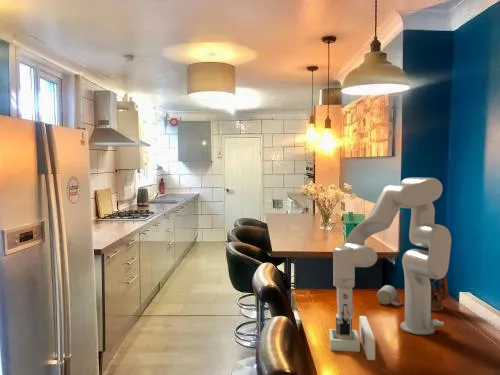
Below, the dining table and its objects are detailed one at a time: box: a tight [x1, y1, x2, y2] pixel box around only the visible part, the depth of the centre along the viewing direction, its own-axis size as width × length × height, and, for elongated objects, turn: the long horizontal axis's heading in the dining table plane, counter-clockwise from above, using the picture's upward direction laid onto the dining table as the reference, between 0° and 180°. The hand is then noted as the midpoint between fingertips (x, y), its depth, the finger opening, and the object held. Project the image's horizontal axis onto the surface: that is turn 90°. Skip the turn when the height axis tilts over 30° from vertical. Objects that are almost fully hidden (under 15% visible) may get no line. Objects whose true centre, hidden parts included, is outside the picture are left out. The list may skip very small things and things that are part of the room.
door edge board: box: [358, 315, 376, 361], centre depth 148 cm, size 3×22×7 cm, turn 172°
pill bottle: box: [335, 307, 353, 338], centre depth 149 cm, size 6×6×10 cm
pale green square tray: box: [328, 328, 361, 353], centre depth 149 cm, size 10×10×4 cm
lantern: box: [423, 247, 450, 312], centre depth 189 cm, size 17×13×30 cm
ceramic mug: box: [376, 284, 403, 307], centre depth 194 cm, size 11×8×8 cm
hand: (344, 330), depth 149 cm, fingers closed on pill bottle, 5 cm apart
